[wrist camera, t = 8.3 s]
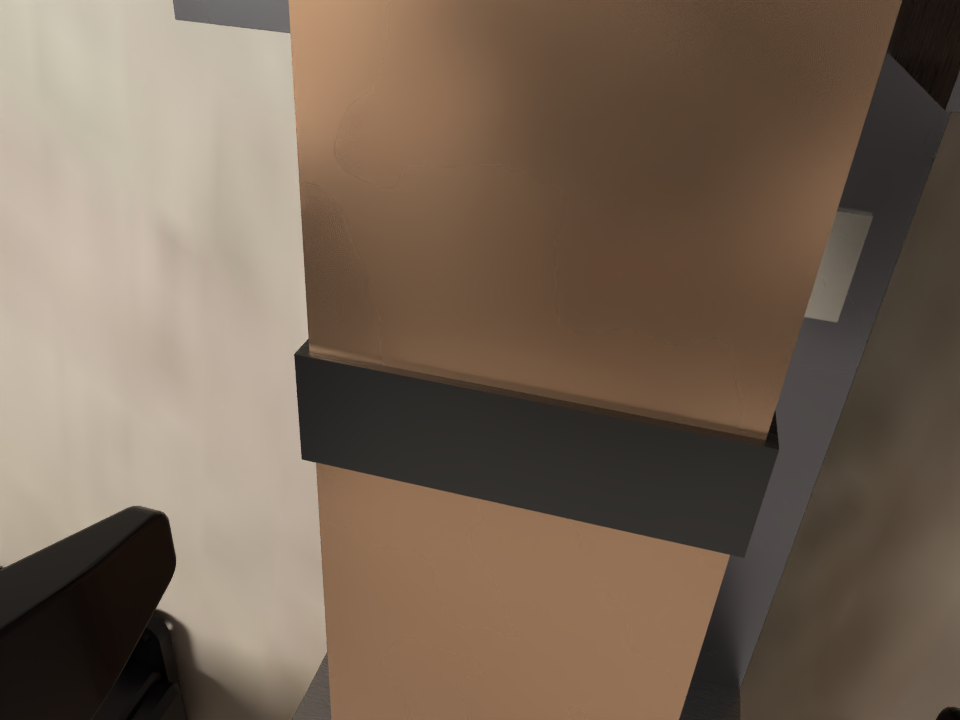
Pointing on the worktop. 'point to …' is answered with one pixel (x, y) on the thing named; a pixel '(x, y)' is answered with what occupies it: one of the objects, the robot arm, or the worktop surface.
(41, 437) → the worktop surface
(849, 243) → the collar stand
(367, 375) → the banded tan post
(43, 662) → the robot arm
